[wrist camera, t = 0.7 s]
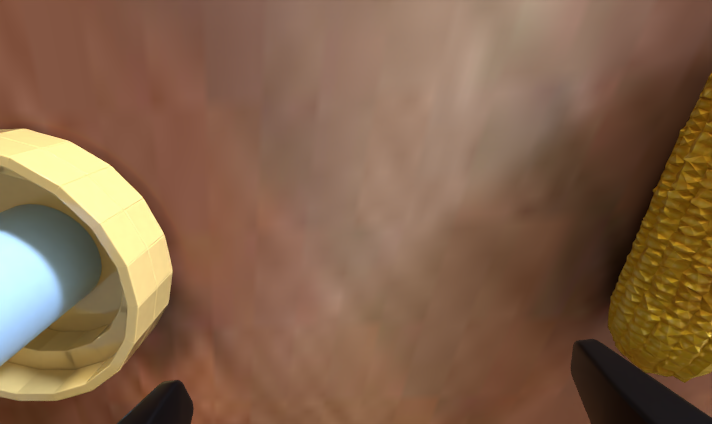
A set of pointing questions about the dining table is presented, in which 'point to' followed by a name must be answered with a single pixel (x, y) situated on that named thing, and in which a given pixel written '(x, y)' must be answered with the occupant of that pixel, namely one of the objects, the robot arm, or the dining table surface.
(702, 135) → the food
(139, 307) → the bowl
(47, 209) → the baby bottle
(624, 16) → the dining table surface
